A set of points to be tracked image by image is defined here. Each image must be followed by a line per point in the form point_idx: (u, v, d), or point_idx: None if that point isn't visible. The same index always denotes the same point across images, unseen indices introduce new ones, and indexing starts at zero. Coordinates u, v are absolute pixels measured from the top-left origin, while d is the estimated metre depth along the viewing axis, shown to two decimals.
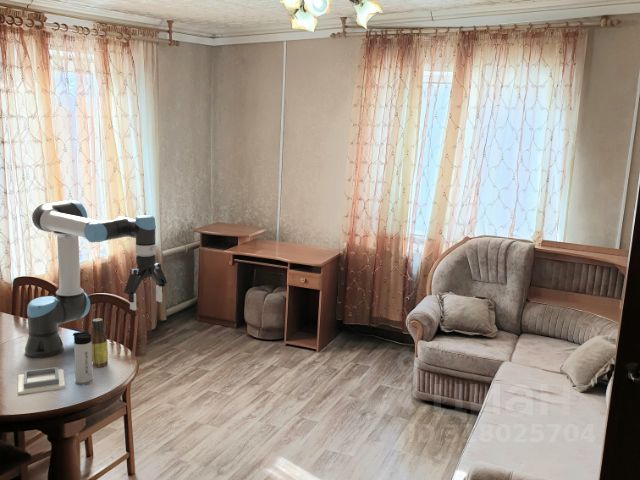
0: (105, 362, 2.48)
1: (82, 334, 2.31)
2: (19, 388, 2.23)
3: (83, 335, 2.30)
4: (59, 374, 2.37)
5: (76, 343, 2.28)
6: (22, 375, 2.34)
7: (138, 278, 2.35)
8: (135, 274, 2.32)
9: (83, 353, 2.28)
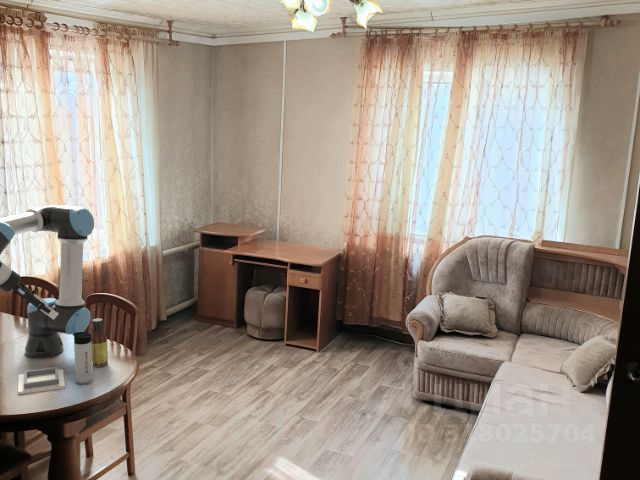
0: (105, 362, 2.48)
1: (82, 334, 2.31)
2: (19, 388, 2.23)
3: (82, 335, 2.30)
4: (59, 374, 2.37)
5: (76, 343, 2.28)
6: (22, 375, 2.34)
7: None
8: None
9: (83, 353, 2.28)
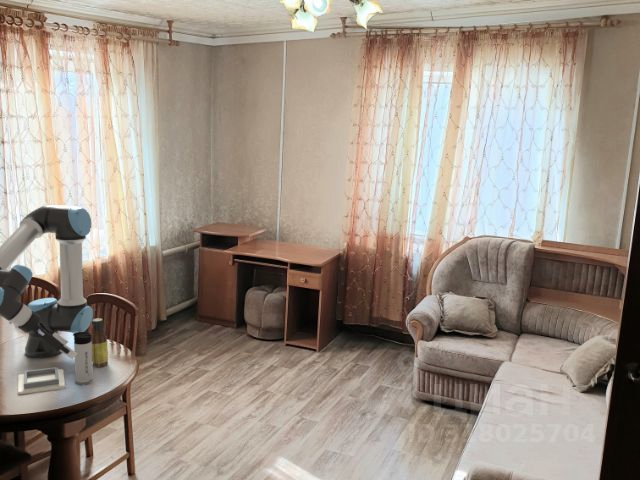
0: (105, 362, 2.48)
1: (82, 334, 2.31)
2: (19, 388, 2.23)
3: (83, 335, 2.30)
4: (59, 374, 2.37)
5: (76, 343, 2.28)
6: (22, 375, 2.34)
7: None
8: None
9: (83, 353, 2.28)
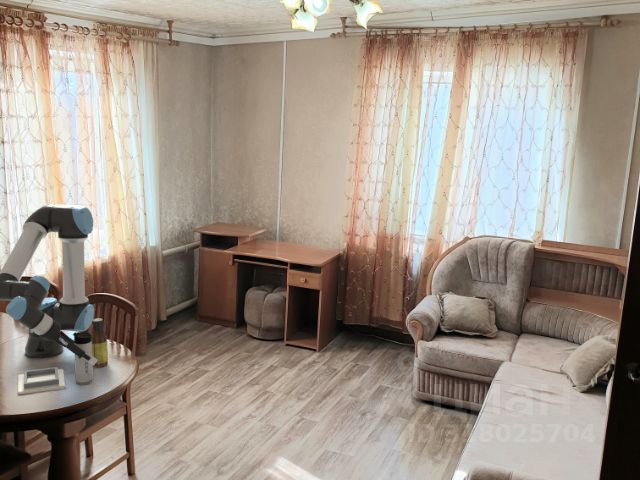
0: (105, 362, 2.48)
1: (82, 334, 2.31)
2: (19, 388, 2.23)
3: (83, 335, 2.30)
4: (59, 374, 2.37)
5: (76, 343, 2.28)
6: (22, 375, 2.34)
7: None
8: None
9: None
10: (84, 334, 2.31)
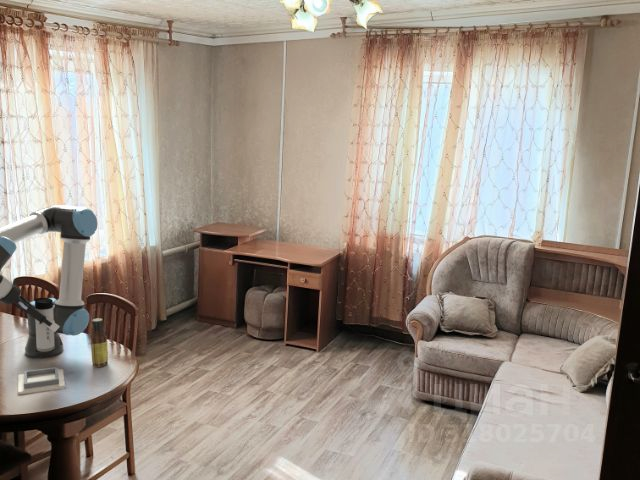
0: (105, 362, 2.48)
1: (43, 300, 2.26)
2: (19, 388, 2.23)
3: (44, 301, 2.25)
4: (59, 374, 2.37)
5: (37, 308, 2.23)
6: (22, 375, 2.34)
7: None
8: None
9: None
10: (45, 300, 2.26)
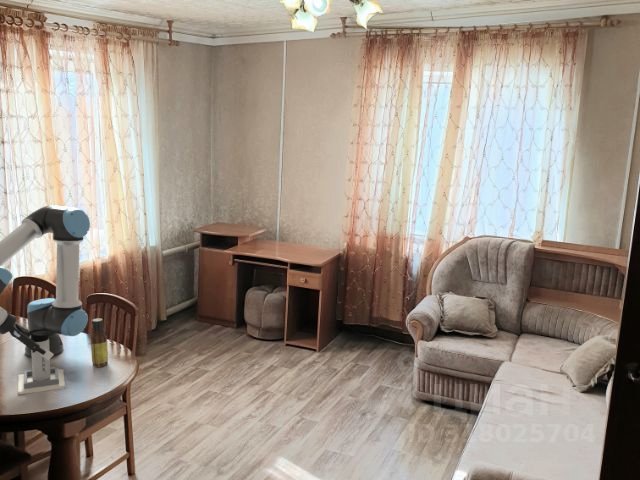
0: (105, 362, 2.48)
1: (39, 332, 2.28)
2: (19, 388, 2.23)
3: (40, 333, 2.27)
4: (59, 374, 2.37)
5: None
6: (22, 375, 2.34)
7: None
8: None
9: None
10: (41, 332, 2.29)
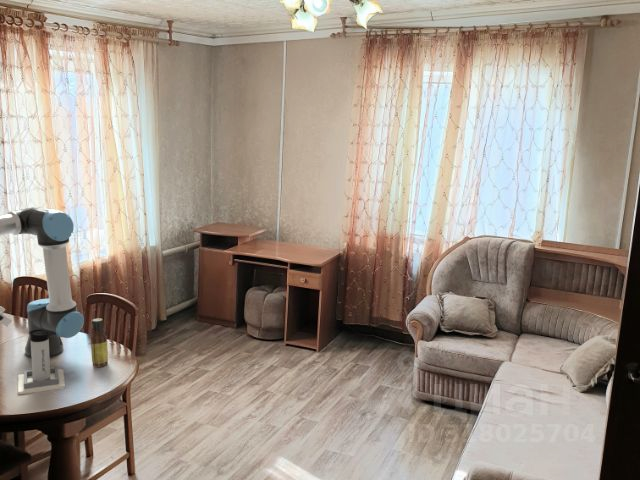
0: (105, 362, 2.48)
1: (39, 332, 2.28)
2: (19, 388, 2.23)
3: (39, 333, 2.27)
4: (59, 374, 2.37)
5: (32, 341, 2.25)
6: (22, 375, 2.34)
7: None
8: None
9: (39, 351, 2.26)
10: (41, 332, 2.29)
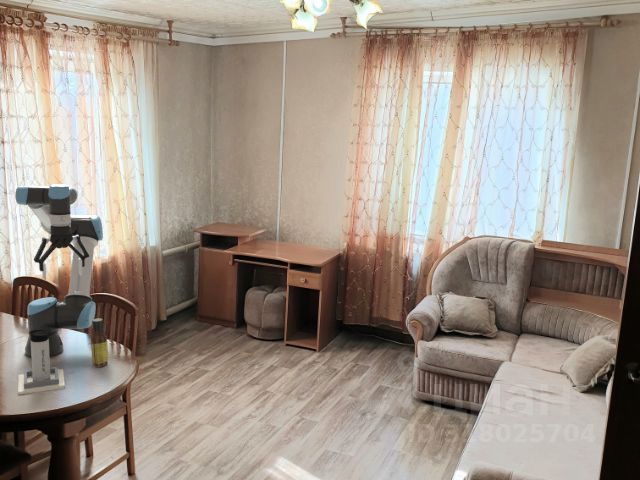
0: (105, 362, 2.48)
1: (39, 332, 2.28)
2: (19, 388, 2.23)
3: (39, 333, 2.27)
4: (59, 374, 2.37)
5: (32, 341, 2.25)
6: (22, 375, 2.34)
7: (50, 248, 2.32)
8: (44, 243, 2.29)
9: (39, 351, 2.26)
10: (41, 332, 2.28)
